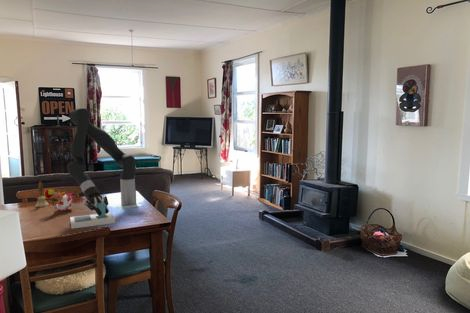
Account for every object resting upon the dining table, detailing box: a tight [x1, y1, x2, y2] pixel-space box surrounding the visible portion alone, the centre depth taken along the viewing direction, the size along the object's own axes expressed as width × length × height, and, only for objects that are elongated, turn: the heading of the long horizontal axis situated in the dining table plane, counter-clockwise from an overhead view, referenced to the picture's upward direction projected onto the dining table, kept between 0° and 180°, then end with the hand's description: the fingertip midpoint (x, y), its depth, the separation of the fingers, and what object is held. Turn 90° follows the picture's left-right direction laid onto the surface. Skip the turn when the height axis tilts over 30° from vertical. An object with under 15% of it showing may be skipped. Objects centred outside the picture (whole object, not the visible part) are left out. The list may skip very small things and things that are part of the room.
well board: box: [69, 211, 116, 229], centre depth 200 cm, size 22×14×3 cm, turn 117°
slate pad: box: [73, 214, 91, 222], centre depth 198 cm, size 8×10×1 cm
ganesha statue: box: [43, 187, 75, 212], centre depth 224 cm, size 14×14×20 cm
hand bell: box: [34, 181, 50, 208], centre depth 238 cm, size 8×8×16 cm
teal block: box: [98, 203, 106, 219], centre depth 202 cm, size 4×4×10 cm
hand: (104, 213), depth 201 cm, fingers closed on teal block, 4 cm apart
